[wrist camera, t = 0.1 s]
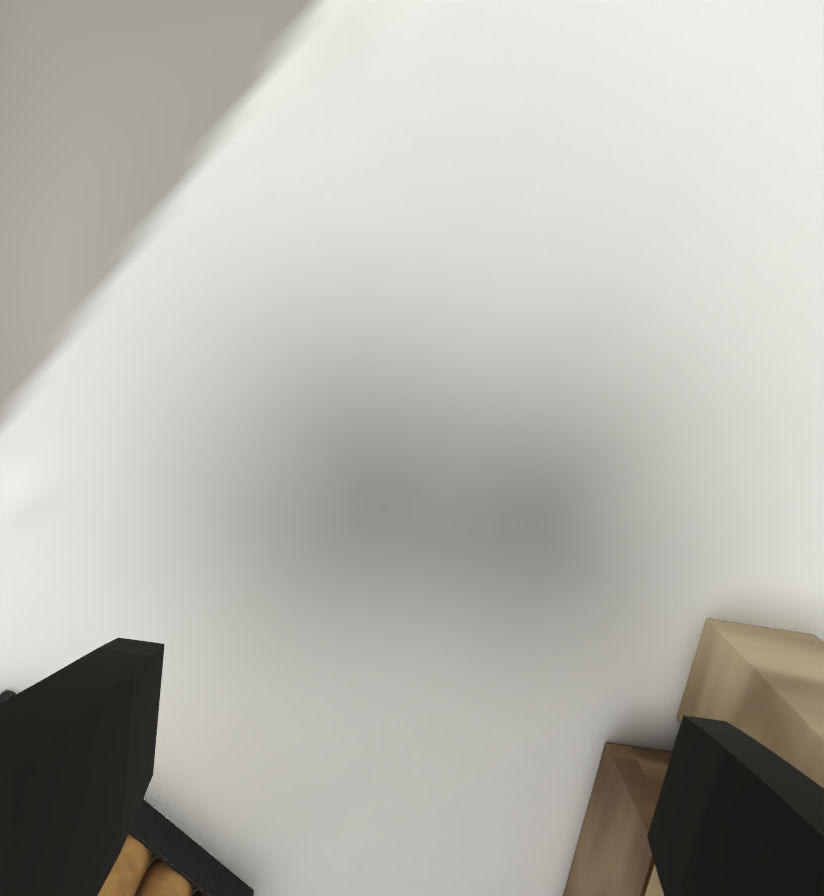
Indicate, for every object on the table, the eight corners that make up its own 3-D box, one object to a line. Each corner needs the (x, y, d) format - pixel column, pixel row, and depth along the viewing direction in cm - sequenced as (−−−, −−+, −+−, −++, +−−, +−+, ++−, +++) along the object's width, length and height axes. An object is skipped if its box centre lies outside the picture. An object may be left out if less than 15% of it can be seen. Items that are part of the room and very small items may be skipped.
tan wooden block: (780, 731, 20) (932, 903, 15) (676, 716, 20) (788, 885, 14) (814, 634, 20) (988, 775, 14) (706, 618, 20) (837, 753, 14)
